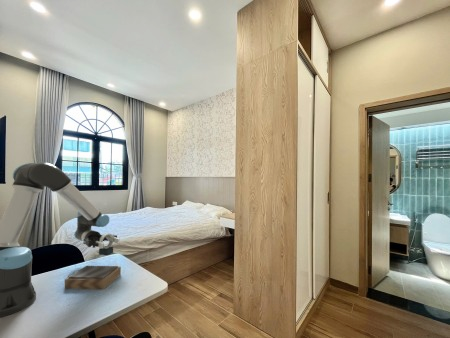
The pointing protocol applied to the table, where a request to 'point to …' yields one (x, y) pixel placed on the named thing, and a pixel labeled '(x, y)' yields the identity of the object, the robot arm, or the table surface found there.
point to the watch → (106, 249)
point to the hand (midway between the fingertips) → (110, 243)
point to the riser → (93, 277)
